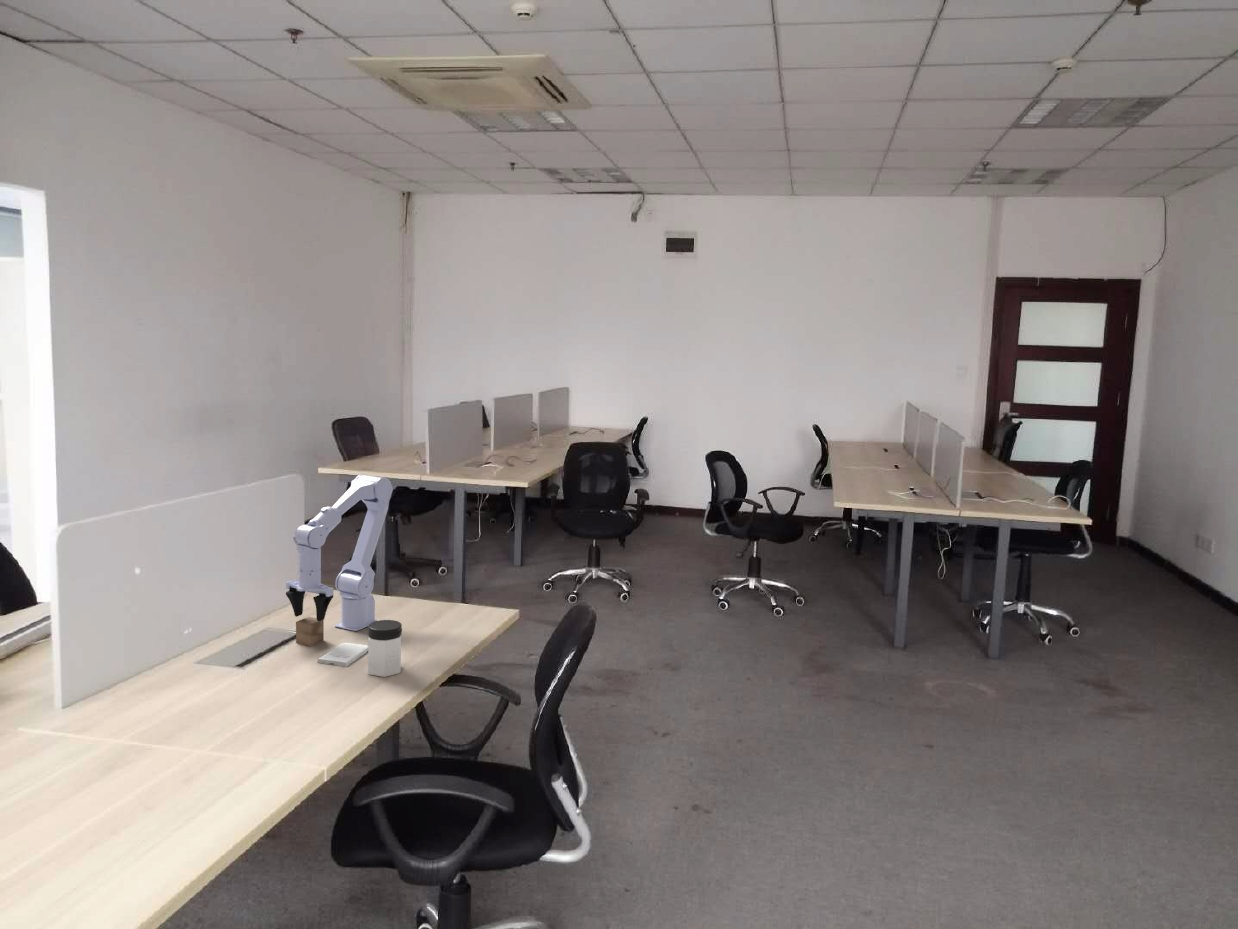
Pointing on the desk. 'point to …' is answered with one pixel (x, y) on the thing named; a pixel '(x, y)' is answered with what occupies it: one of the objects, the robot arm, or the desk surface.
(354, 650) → the external hard drive
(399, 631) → the jar
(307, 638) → the walnut block
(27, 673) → the desk surface
